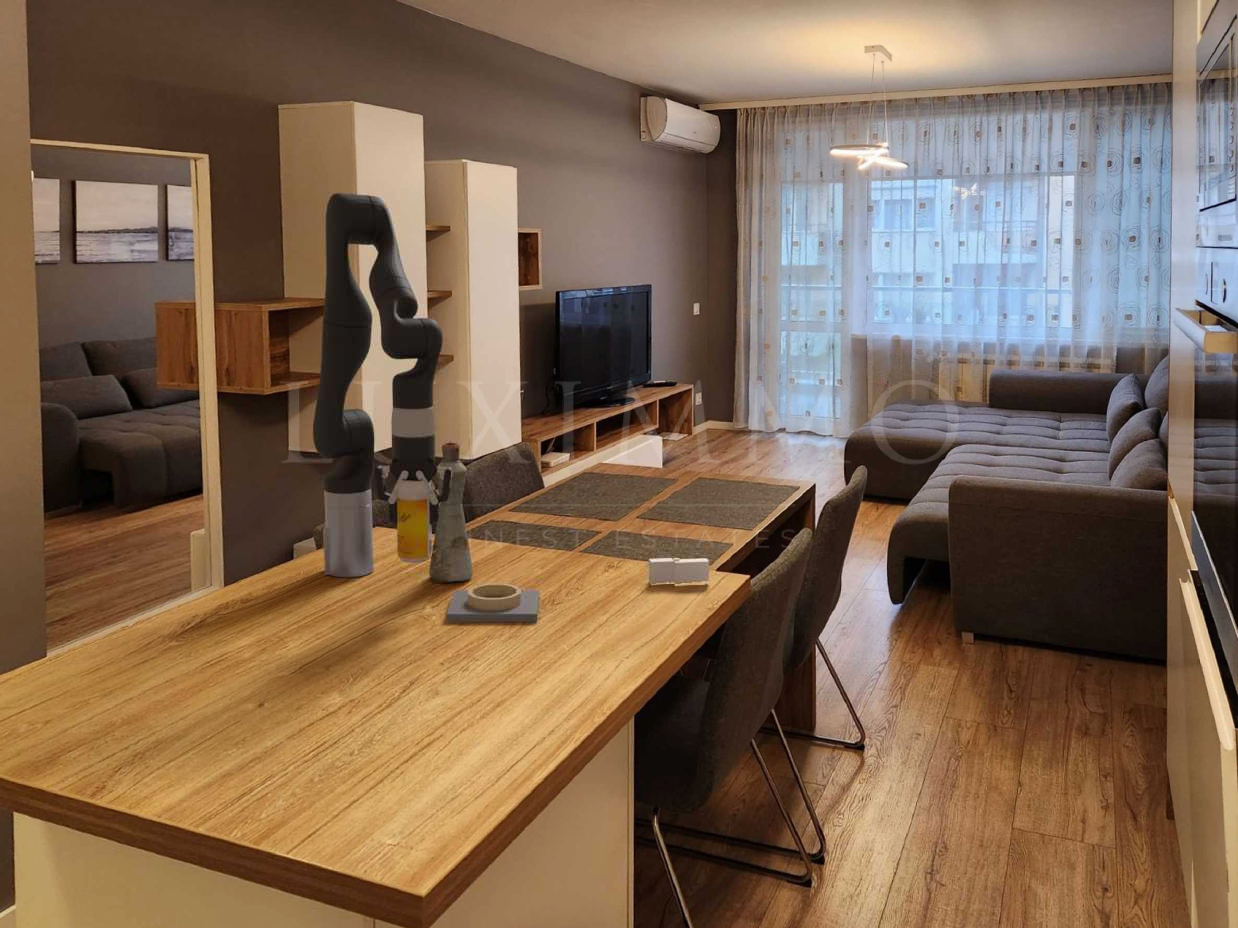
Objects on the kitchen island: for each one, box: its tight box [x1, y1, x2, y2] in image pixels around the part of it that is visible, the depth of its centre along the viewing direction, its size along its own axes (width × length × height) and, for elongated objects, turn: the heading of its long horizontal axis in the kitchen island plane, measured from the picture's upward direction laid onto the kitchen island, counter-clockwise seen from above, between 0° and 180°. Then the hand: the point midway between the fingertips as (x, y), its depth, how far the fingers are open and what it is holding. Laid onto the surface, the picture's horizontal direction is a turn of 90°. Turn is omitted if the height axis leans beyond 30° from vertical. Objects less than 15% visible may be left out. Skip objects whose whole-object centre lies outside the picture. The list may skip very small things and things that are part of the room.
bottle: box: [428, 441, 474, 583], centre depth 220 cm, size 9×9×28 cm
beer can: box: [396, 480, 433, 564], centre depth 200 cm, size 6×6×15 cm
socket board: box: [446, 582, 540, 623], centre depth 204 cm, size 16×14×4 cm
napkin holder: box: [648, 557, 710, 584], centre depth 221 cm, size 15×11×6 cm
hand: (414, 523), depth 200 cm, fingers closed on beer can, 6 cm apart
